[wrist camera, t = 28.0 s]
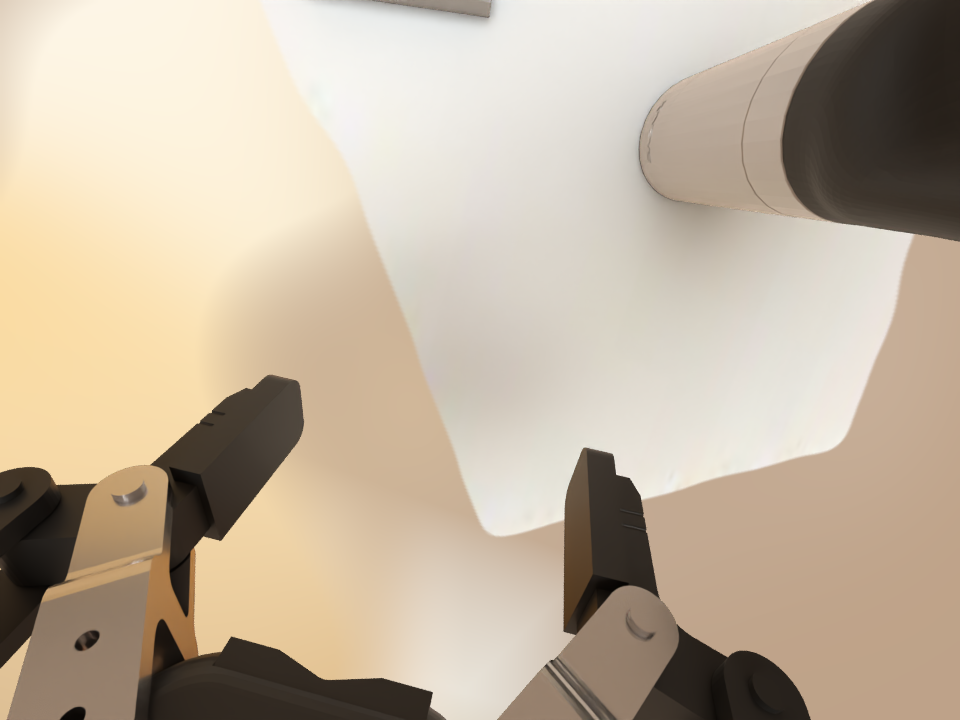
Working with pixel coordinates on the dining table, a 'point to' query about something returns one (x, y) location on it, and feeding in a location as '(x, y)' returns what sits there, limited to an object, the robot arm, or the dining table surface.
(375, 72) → the dining table surface
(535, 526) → the dining table surface
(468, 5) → the tray
